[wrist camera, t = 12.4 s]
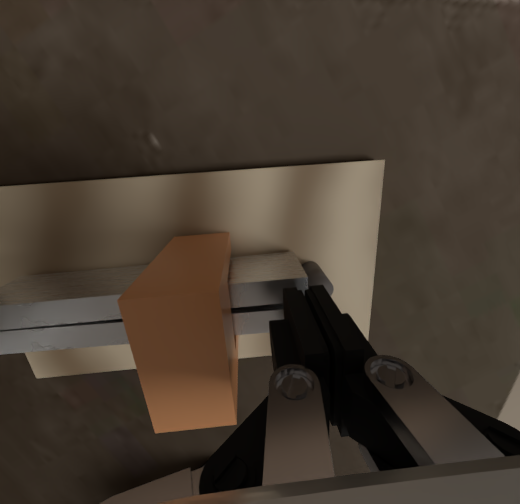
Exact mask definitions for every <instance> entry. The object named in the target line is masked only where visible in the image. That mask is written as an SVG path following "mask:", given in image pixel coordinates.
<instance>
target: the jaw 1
mask: <svg viewBox="0 0 520 504" xmlns="http://www.w3.org/2000/svg"><path fill="white" fill-rule="evenodd" d="M147 266H148V265H139V266H128V267H116V268H105V269H94V270H83V271H72V272H60V273H49V274H38V275H27V276H21V277H19V278H17V279H15V280H13V281H11V282H10V283H8V284H6V285H4V286H2V287H0V330H9V329H20V328H30V327H40V326H51V325H61V324H71V323H82V322H92V321H102V320H113V319H122V316H121V313H120V309H119V306H118V302H117V300H118V299H119V297H120V296H121V295H122V294H123V293H124V292H125V291H126V290H127V289H128V287H129V286H130V285H131V284H132V283H133V282H134V281H135V280H136V279H137V278H138V276H139V275H140V274H141V273H142V272H143V271H144V270H145V269H146V268H147ZM227 282H228V290H229V298H230V307H231V308H237V307H248V306H258V305H268V304H279V303H283V288H291V287H296V288H297V290H302V292H303V294H304V296H305V290H306V289H308V276H307V274H306V273H305V271H304V269H303V267H302V266H301V264H300V262H299V260H298V259H297V257H296V255H295V253H294V252H284V253H273V254H262V255H251V256H240V257H230V264H229V272H228V280H227Z"/></svg>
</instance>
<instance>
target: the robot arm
mask: <svg viewBox="0 0 520 504" xmlns="http://www.w3.org/2000/svg"><path fill="white" fill-rule="evenodd" d="M283 307H284V319H281V320H271V321H269V332H270V345H271V354H272V361H273V368H274V372H273V374H272V375H271V377H270V381H269V391H268V396H267V397H266V398H265V399H264V400H263V402H262V403H261V404H260V405H259V406H258V407H257V408H256V409H255V410H254V411H253V412H252V413H251V414H250V415H249V417H248V418H247V419H246V420H245V421H244V422H243V423H242V424H241V425H240V426H239V427H238V428H237V429H236V430H235V431H234V433H233V434H232V435H231V436H230V437H229V438H228V439H227V440H226V441H225V442H224V443H223V444H222V445H221V446H220V448H219V449H218V450H217V451H216V452H215V453H214V454H213V455H212V456H211V457H210V459H209V460H208V461H207V463H206V464H205V466H204V467H202V468H200V469H197V470H194V471H192V472H191V468H190V467H189V468H187V469H184V470H181V471H179V472H176V473H173V474H171V475H168V476H165V477H163V478H160V479H157V480H155V481H152V482H149V483H147V484H144V485H141V486H139V487H136V488H133V489H131V490H128V491H125V492H123V493H120V494H117V495H115V496H112V497H110V498H108V499H107V500H105V501H103V502H101V503H100V504H520V431H518V430H517V429H515V428H513V427H511V426H510V425H508V424H506V423H504V422H502V421H499V420H497V419H495V418H493V417H490V416H488V415H486V414H484V413H481V412H479V411H477V410H474V409H472V408H470V407H468V406H465V405H463V404H461V403H459V402H456V401H454V400H452V399H450V398H447V397H445V396H443V395H441V394H440V393H439V392H438V391H437V390H436V389H435V388H434V387H433V386H432V385H431V384H430V383H429V382H428V381H427V380H425V379H424V378H423V377H422V376H421V375H420V374H419V373H418V372H417V371H416V370H415V369H414V368H413V367H412V366H410V365H409V364H408V363H407V362H405V361H403V360H401V359H399V358H396V357H393V356H388V355H377V354H376V352H375V351H374V349H373V348H372V346H371V345H370V344H369V342H368V341H367V339H366V338H365V336H364V335H363V333H362V332H361V331H360V329H359V328H358V326H357V325H356V323H355V322H354V320H353V319H352V318H351V316H350V315H349V314H348V313H343V314H342V313H341V312H340V310H339V309H338V307H337V305H336V304H335V302H334V301H333V299H332V298H331V296H330V295H329V293H328V292H327V290H326V288H325V287H324V285H312V286H309V289H306V290H305V296H304V294H303V292H302V290H297V288H296V287H291V288H283ZM329 420H330V422H331V424H332V426H336V425H337V427H338V429H339V432H340V435H341V437H344V436H349V437H351V438H352V439H354V440H355V441H357V442H358V445H359V449H360V452H361V454H362V456H363V458H364V460H365V462H366V464H367V465H368V467H369V469H370V471H371V472H370V473H362V474H353V475H346V476H338V477H335V475H334V469H333V462H332V456H331V450H330V444H329Z"/></svg>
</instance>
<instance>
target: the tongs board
mask: <svg viewBox="0 0 520 504" xmlns="http://www.w3.org/2000/svg"><path fill="white" fill-rule="evenodd" d="M384 163H385V160H367V161H353V162H339V163H325V164H311V165H296V166H282V167H268V168H254V169H240V170H225V171H211V172H197V173H183V174H169V175H154V176H140V177H126V178H112V179H98V180H83V181H69V182H55V183H41V184H27V185H12V186H0V287H2V286H4V285H6V284H8V283H10V282H11V281H13V280H15V279H17V278H19V277H21V276H27V275H38V274H49V273H60V272H72V271H83V270H94V269H105V268H116V267H128V266H139V265H149V264H150V263H151V262H152V261H153V260H154V259H155V258H156V256H157V255H158V254H159V253H160V252H161V251H162V250H163V249H164V248H165V246H166V245H167V244H168V243H169V242H170V241H171V240H172V239H173V238H174V237H177V236H189V235H202V234H214V233H227V232H229V233H230V242H231V256H230V257H240V256H251V255H262V254H273V253H284V252H294V253H295V255H296V257H297V259H298V260H299V262H300V264H301V266H302V267H303V269H304V271H305V273H306V274H307V276H308V289H309V286H312V285H324V287H325V288H326V290H327V292H328V293H329V295H330V296H331V298H332V299H333V301H334V302H335V304H336V305H337V307H338V309H339V310H340V312H341V313H342V314H343V313H348V314H349V315H350V316H351V318H352V319H353V320H354V322H355V323H356V325H357V326H358V328H359V329H360V331H361V332H362V333H363V335H364V336H365V338H366V339H367V341H368V336H369V325H370V314H371V303H372V293H373V282H374V271H375V260H376V250H377V239H378V228H379V217H380V207H381V196H382V185H383V174H384ZM25 354H26V357H27V359H28V361H29V363H30V365H31V367H32V370H33V372H34V374H35V376H36V378H46V377H57V376H67V375H77V374H87V373H97V372H107V371H117V370H127V369H137V368H136V365H135V361H134V358H133V354H132V351H131V347H130V344H123V345H110V346H98V347H86V348H73V349H61V350H49V351H37V352H25ZM269 355H272V354H271V345H270V333H258V334H245V335H239V337H238V359H239V358H249V357H259V356H269Z"/></svg>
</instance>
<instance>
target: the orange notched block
mask: <svg viewBox="0 0 520 504" xmlns="http://www.w3.org/2000/svg"><path fill="white" fill-rule="evenodd" d="M230 256H231V242H230V233H229V232H227V233H214V234H202V235H189V236H177V237H174V238H173V239H172V240H171V241H170V242H169V243H168V244H167V245H166V246H165V248H164V249H163V250H162V251H161V252H160V253H159V254H158V255H157V256H156V258H155V259H154V260H153V261H152V262H151V263H150V264H149V265H148V266H147V268H146V269H145V270H144V271H143V272H142V273H141V274H140V275H139V276H138V278H137V279H136V280H135V281H134V282H133V283H132V284H131V285H130V286H129V287H128V289H127V290H126V291H125V292H124V293H123V294H122V295H121V296H120V297H119V299H118V300H117V302H118V306H119V309H120V313H121V316H122V320H123V323H124V327H125V330H126V334H127V337H128V341H129V344H130V347H131V351H132V354H133V358H134V361H135V365H136V368H137V372H138V375H139V379H140V382H141V386H142V389H143V393H144V396H145V400H146V403H147V407H148V410H149V413H150V417H151V420H152V424H153V427H154V431H155V433H163V432H172V431H182V430H191V429H200V428H209V427H218V426H227V425H237V381H238V337H239V335H234V332H233V323H232V315H231V307H230V298H229V290H228V282H227V280H228V272H229V264H230Z"/></svg>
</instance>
